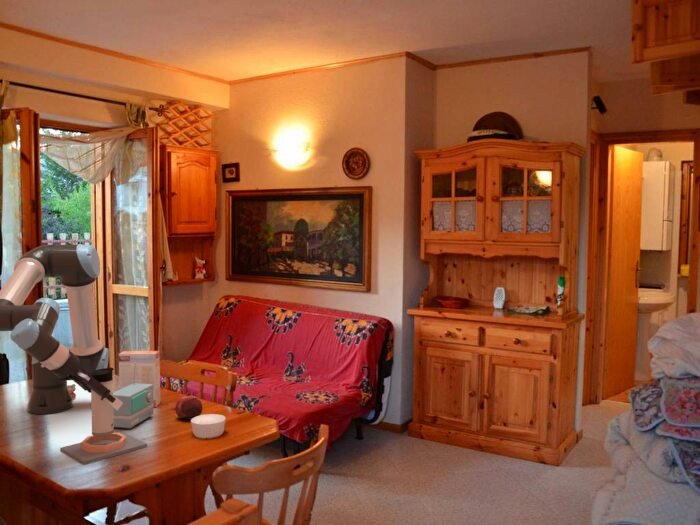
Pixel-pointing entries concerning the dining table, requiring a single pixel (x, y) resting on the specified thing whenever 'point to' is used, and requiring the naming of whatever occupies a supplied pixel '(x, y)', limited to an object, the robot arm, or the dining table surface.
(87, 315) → the robot arm
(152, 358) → the cracker box
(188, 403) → the fruit
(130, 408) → the radio
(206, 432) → the ramekin
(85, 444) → the mug stand
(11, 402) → the dining table surface
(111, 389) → the travel mug
